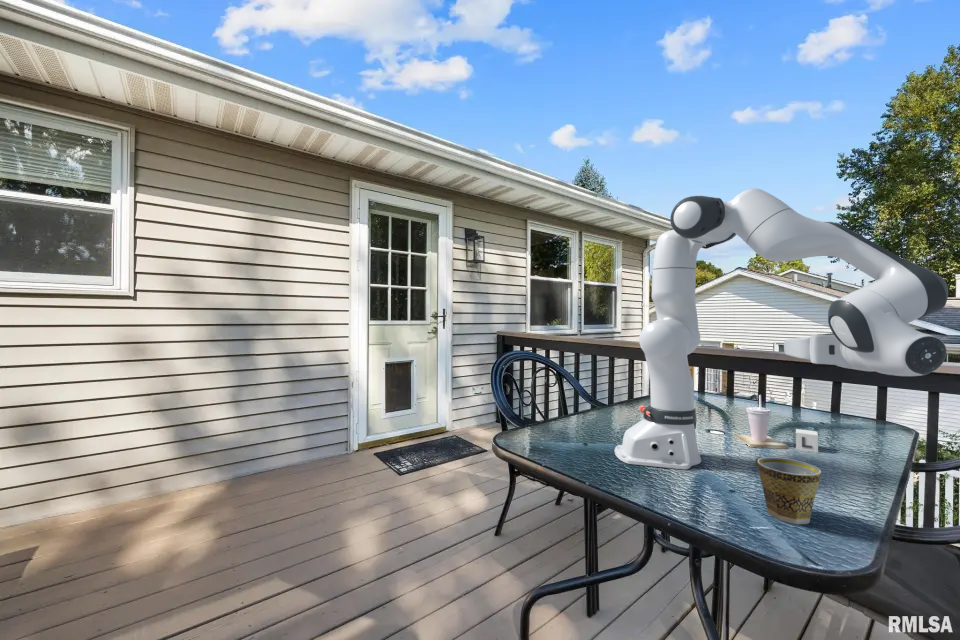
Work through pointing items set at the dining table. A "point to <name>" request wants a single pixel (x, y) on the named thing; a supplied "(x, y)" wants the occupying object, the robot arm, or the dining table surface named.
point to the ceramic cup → (788, 488)
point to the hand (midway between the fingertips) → (814, 345)
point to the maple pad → (767, 444)
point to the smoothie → (758, 421)
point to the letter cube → (807, 440)
